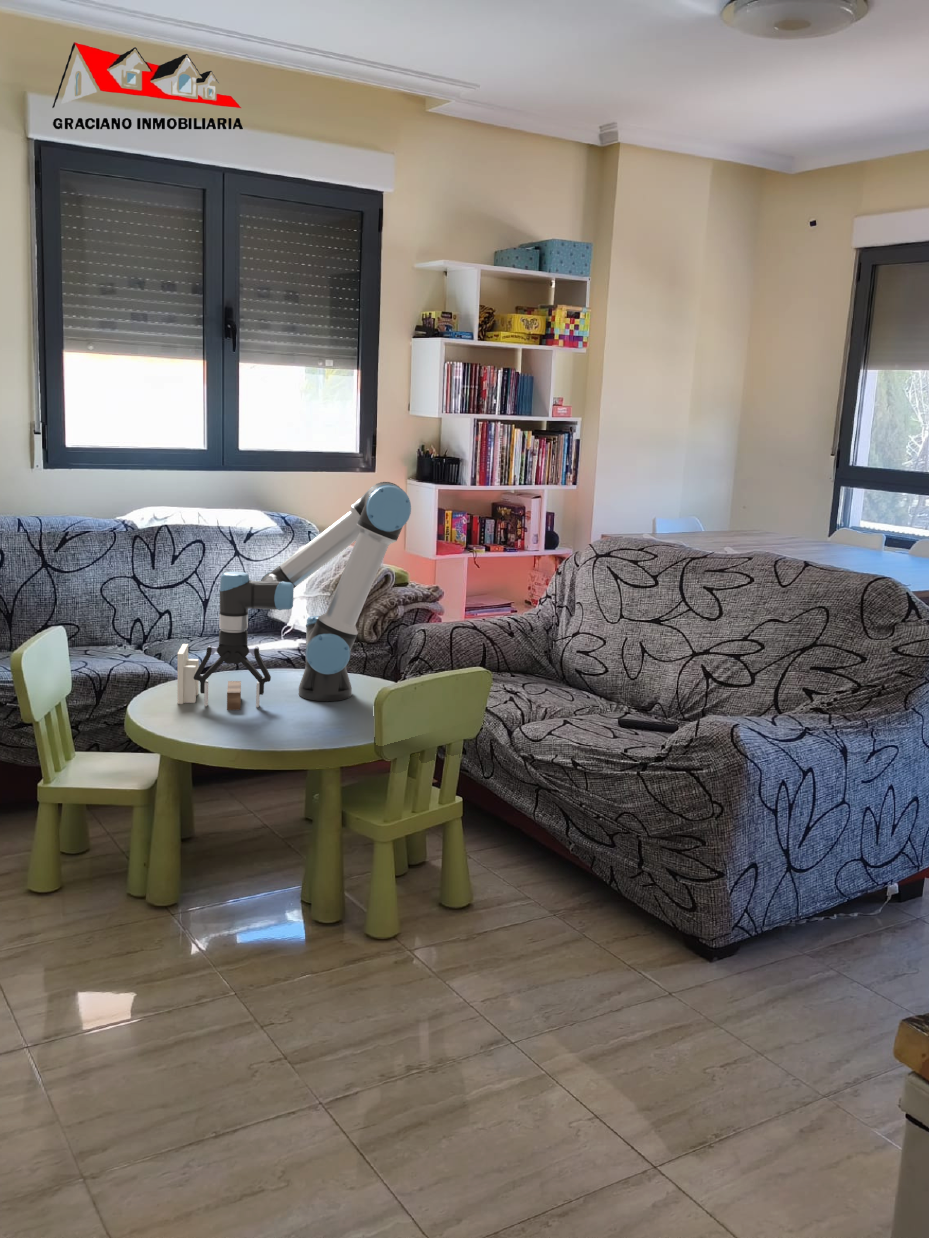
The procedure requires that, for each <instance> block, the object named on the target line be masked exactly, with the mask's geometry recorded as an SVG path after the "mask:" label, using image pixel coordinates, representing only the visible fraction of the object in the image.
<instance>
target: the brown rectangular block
mask: <svg viewBox="0 0 929 1238" xmlns="http://www.w3.org/2000/svg"><path fill="white" fill-rule="evenodd" d="M226 689H227V690H226V710H227V711H241V702H242V699H241V698H242V697H241V695H242V681H241V680H227V688H226Z"/></svg>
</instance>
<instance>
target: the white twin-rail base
mask: <svg viewBox="0 0 929 1238" xmlns="http://www.w3.org/2000/svg"><path fill="white" fill-rule="evenodd" d="M199 663H200V662H199V658H189V643H182V645H181V646H180V648H179V650H178V651H177V704H178V705H183V704H184V703H185V704H186V703H188V704H190V703H191V704H195V703H196V701H197V700H196V699H197V698H196V697H197V696H198V695H199V691H200V688H199V687H200V686H199V684H200V681H198V680H194V675H195V673H196V671H197V670H198V668H199V666H200V664H199Z"/></svg>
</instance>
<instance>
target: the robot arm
mask: <svg viewBox="0 0 929 1238" xmlns="http://www.w3.org/2000/svg"><path fill="white" fill-rule="evenodd" d="M411 513H412V505H411V500H410V497H409V496H408V494H407V493H406V492H405V491H404V489H403V488H401V487H400V486H399V485H397V484H395V482H394V483H393V482H390V481H381V482H378V483H375V484H374V485H372V486H371V487H370V488H369V489H368V490H367V491H366V492H365V493H364V494H363V495H362V496H361V497H360V498H358V499H357V500H356V501H355V502H353V504H351V506H350V510H349V511H348V512H347V513H346V514H344V515H343V516H341V517H340V518H339V519H338V520H336V521H335V522H334V523H332V524H331V525H330V526H329V527H327V528H326V529H325V530H323V531H322V532H321V533H319V534H318V535H317V536H316V537H314V538H312V540H311V541H309V542H308V543H306V544H305V545H304V546H303V547H302V548H300V549H299V550H298V551H296V552H295V553H294V554H292V555H291V556H290V557H288V558H287V559H285V560H284V562H282V563H281V564H279V565H278V566H277V567H276V568H274V569H273V570H272V571H269V572H267V573H265V575H264V576H262V577H261V580H251V579H250V575H249V573H247V572H244V571H226V572H223V573H222V574H221V576H220V583H219V616H218V617H219V624H218V625H219V627H218V628H219V629H220V630H219V631H218V646H216V647H215V646H213V645H211V644H210V645H208V646H207V647H206V651H205V652H206V653H205V655H204V657H203V658H202V661H201V663H200V664H199V668H198V670H197V671H196V673H195V675H194V680H198V681H199V684H200V686H199V687H200V688H199V691H200V694H203V696H204V697H203V698H204V699H203V703H204V704H203V706H204V707H207V706H208V704H209V680H207V679H209V677H210V676H211V675H212V674H213V673H214V672H215V671H216V670H217V669H218V668H219V667H220V666H221V665H222V664H223V663H225V664H227V665H231V664H234V665H239V664H242V665H243V666H244V667H245V668H246V669H247V670H248V671H249V672H250V674H251V675H252V676H253V678H254V679H256V691H255V694H256V696H255V698H256V699H255V700H256V701H255V707H256V708H260V697H261V696H263V695H264V693H265V683H267V682H270V681H271V679H272V676H271V674H270V672H269V670H268V668H267V666H266V664H265V663H264V660H263V658H262V657H261V655H260V647H259V646H255V647H250V648H249V647H248V641H249V639H248V636H249V635H248V633H249V632H248V630H247V629H248V628H249V624H248V623H249V609H253V610H255V609H256V610H257V609H258V610H274V611H275V610H278V611H285V610H289V611H290V610H292V609H293V607H294V593H295V592H294V590H295V588H296V587H298V586H299V585H301V583H303V582H304V581H305V580H306V579H308V578H309V577H310V576H312V575H313V574H315V573H316V572H317V571H318V570H320V569H321V568H322V567H323V566H325V565H327V563H328V562H331V560H332V559H334V558H335V557H337V556H338V555H340V553H342V552H343V551H344V550H346V549H347V548H348V547H350V546H351V545H352V544H353V543H354V545H353V548H352V549H351V552H350V554H349V557H348V559H347V561H346V564H345V566H344V569H343V571H342V574H341V576H340V578H339V581H338V582H337V585H336V588H335V591H334V593H333V594H332V595H333V596H332V598H331V600H330V603H329V605H328V607H327V610H326V612H325V613H324V614H321V615H312V616H308V617H307V619H306V625H305V628H306V634H305V635H306V636H305V652H304V653H305V668H304V671H303V674H302V677H301V680H300V683H299V685H298V695H299V697H301V698H303V699H306V700H309V701H317V702H336V701H337V702H338V701H342V700H347V699H349V698H351V697H352V693H353V691H352V690H353V688H352V684H351V680H350V677H349V674H348V670H347V665H348V664H349V661H350V659H351V650H352V648H353V646H354V643H355V640H356V639H357V636H358V635H359V631H358V629H357V625H356V624H357V622H358V620H359V617H360V614H361V613H362V610H363V607H364V604H365V603H366V600H367V598H368V595H369V593H370V592H371V591H370V590H371V589H372V586H373V584H374V583H375V582H374V581H375V579H376V577H377V575H378V572H379V570H380V567H381V565H382V563H383V560H384V558H385V556H386V553H387V551H388V549H389V546H390V545H391V544H393V543H395V542H398V539H399V537H400V534H401V532H402V529H403V527H404V526H405V525H406V524H407V522H408V521H409V519H410V516H411ZM215 653H217V654H218V655H219V657H218V659H217V660H216V661H215V662H214V663H213V664H212V665H211V666H210V667H209V668H208V669H207V671H205V673H204V674H203V675H201V674H202V672H203V670H204V668H205V666H206V665H207V663H208V662H209V660H210V658H211V656H214V655H215ZM249 653H250V654H251V656H253V657H254V658H255V661H256V663H257V664H258V667H259V669H260V671H261V673H262V674H261V673H260V672H259V671H258V670H257V668H256V667H254V665H253V663H252V662H251V661H250V659H248V657H247V656H248V655H249ZM262 675H263V676H262Z"/></svg>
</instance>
